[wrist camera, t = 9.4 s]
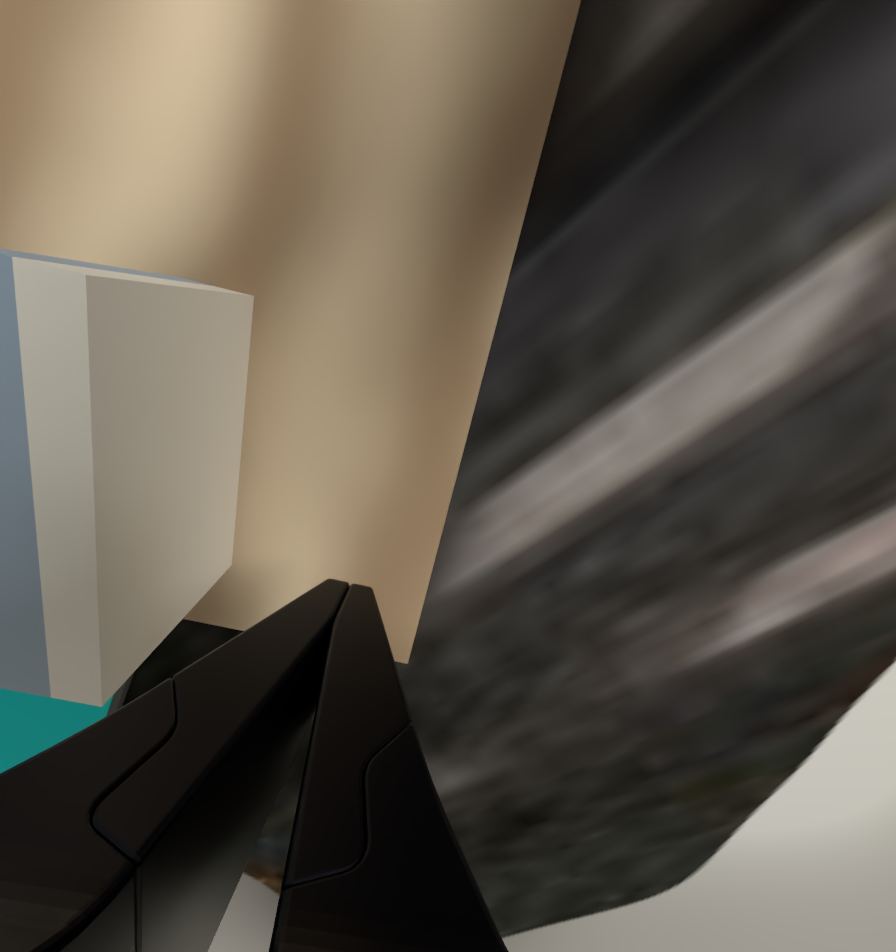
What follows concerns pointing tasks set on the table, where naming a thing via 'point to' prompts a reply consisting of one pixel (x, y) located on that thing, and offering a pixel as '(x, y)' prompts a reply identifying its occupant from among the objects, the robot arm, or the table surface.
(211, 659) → the robot arm
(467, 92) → the mat
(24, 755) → the smartphone
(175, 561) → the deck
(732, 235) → the table surface
